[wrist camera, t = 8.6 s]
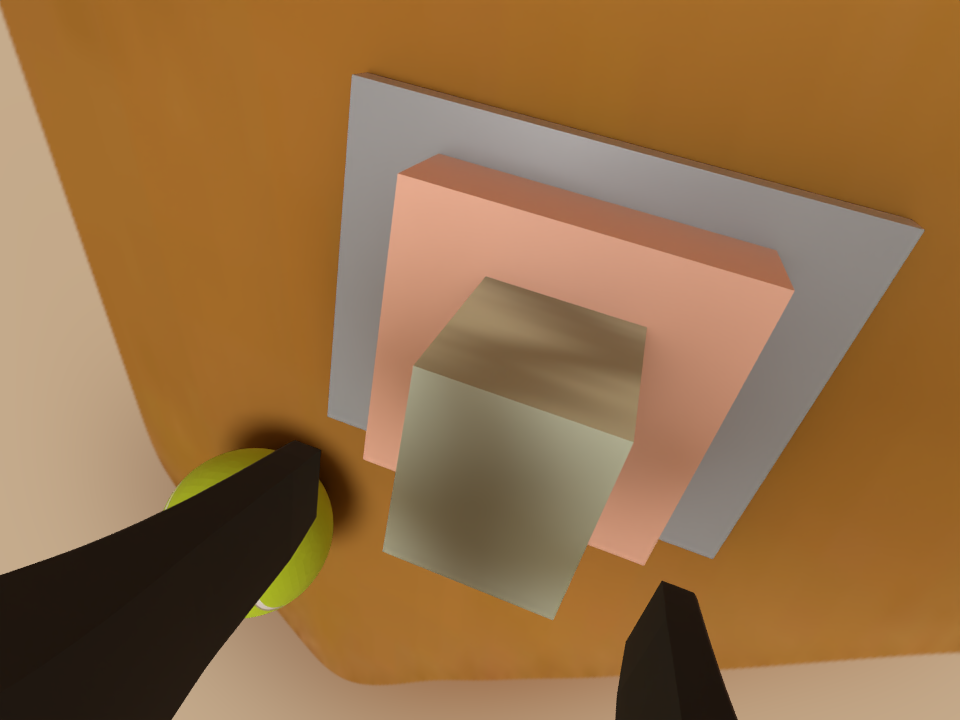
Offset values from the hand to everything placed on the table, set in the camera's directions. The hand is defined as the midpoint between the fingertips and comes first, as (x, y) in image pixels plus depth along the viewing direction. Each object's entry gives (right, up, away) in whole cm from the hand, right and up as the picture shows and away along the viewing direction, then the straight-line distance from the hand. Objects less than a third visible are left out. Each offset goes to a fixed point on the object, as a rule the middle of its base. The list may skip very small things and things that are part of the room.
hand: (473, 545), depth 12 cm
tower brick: (+3, +4, +7) cm, 9 cm away
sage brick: (+2, +3, +5) cm, 6 cm away
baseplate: (+3, +5, +8) cm, 10 cm away
